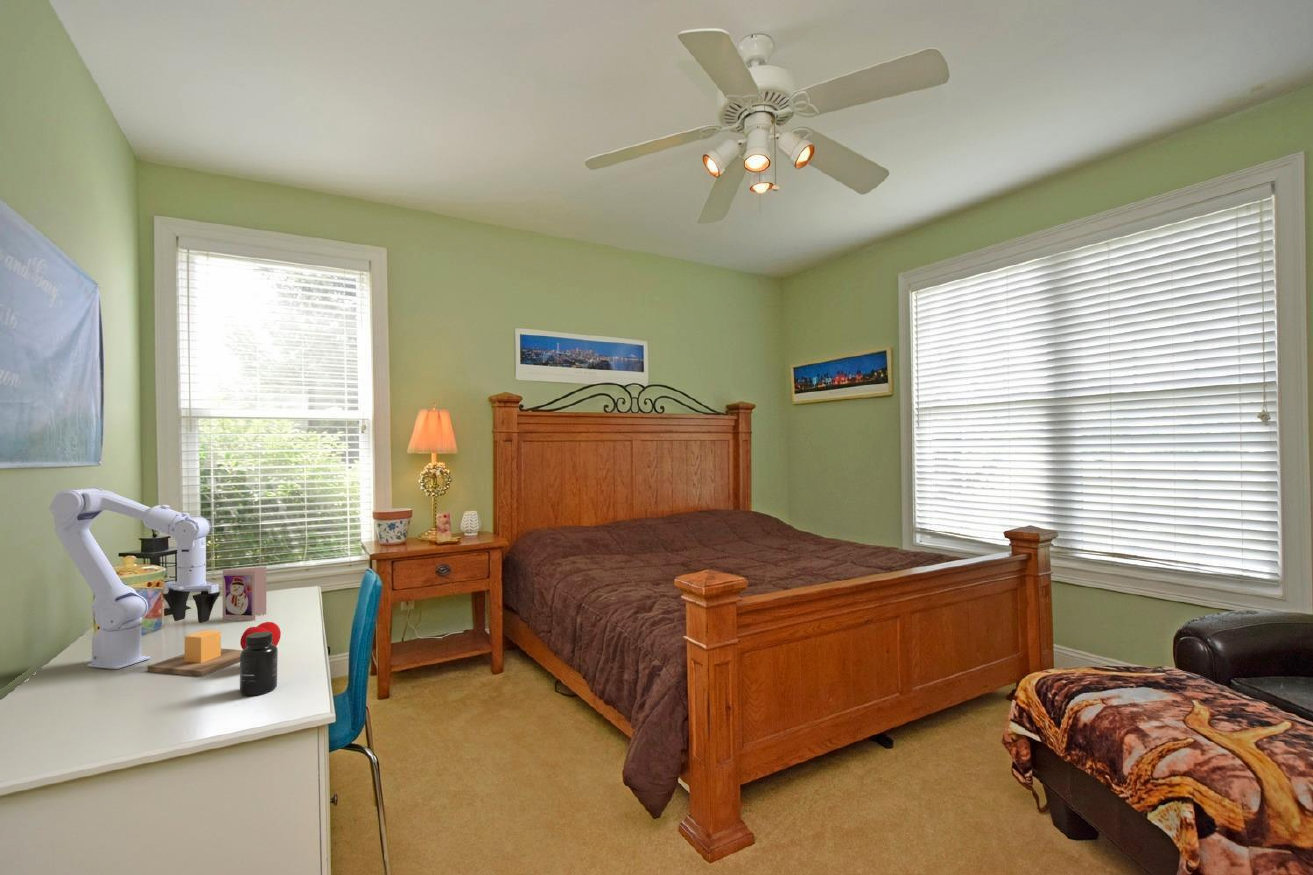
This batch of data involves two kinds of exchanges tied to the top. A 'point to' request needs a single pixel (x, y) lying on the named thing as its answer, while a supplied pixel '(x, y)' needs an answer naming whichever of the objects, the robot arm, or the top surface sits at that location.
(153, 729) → the top surface
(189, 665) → the post board
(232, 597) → the greeting card
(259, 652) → the supplement bottle
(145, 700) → the top surface
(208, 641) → the orange wooden cube
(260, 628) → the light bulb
